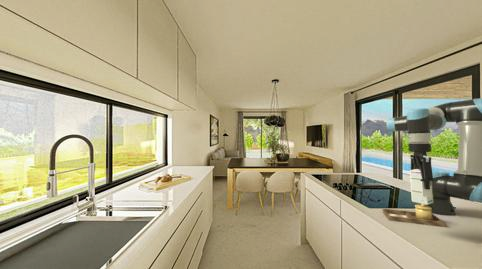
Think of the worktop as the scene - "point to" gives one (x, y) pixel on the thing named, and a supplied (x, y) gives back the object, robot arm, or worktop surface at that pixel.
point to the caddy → (411, 218)
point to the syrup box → (419, 188)
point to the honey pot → (423, 212)
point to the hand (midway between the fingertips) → (421, 193)
